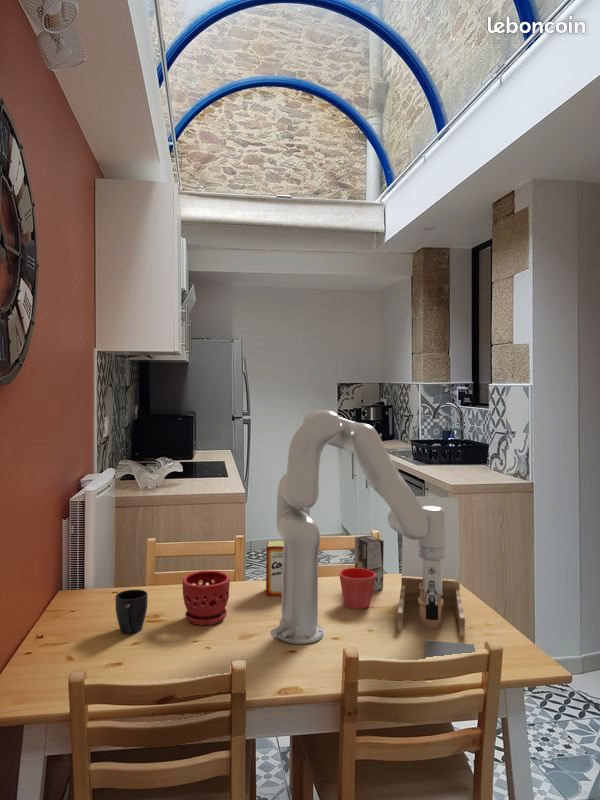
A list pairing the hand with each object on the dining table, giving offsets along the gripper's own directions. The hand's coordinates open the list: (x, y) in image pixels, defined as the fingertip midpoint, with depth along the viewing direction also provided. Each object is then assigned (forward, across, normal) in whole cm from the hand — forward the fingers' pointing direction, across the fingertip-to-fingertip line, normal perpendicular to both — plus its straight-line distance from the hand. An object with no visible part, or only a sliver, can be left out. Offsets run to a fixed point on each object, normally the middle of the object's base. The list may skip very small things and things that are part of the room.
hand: (431, 612), depth 161 cm
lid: (-16, +22, 0) cm, 27 cm away
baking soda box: (+3, +16, +47) cm, 50 cm away
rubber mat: (+3, -18, -4) cm, 19 cm away
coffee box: (+3, +28, +20) cm, 35 cm away
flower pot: (+3, +10, +22) cm, 25 cm away
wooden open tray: (+3, +5, 0) cm, 6 cm away
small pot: (+3, 0, 0) cm, 3 cm away
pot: (+3, +12, 0) cm, 13 cm away
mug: (+2, -25, +78) cm, 82 cm away
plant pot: (+2, -12, +62) cm, 63 cm away
